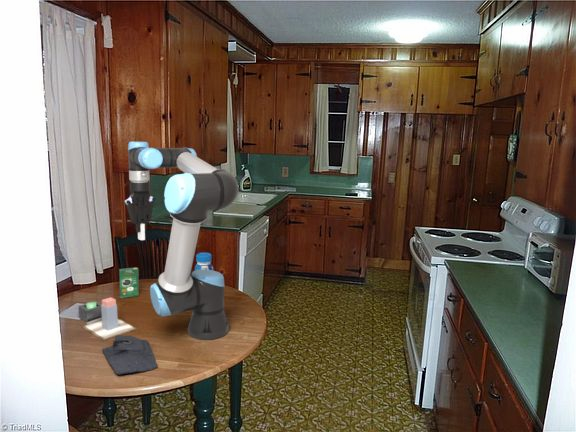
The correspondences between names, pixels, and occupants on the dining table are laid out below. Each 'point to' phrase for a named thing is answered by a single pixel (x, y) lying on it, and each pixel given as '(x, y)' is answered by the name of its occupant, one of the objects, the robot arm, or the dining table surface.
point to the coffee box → (128, 282)
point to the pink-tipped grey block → (109, 314)
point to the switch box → (90, 312)
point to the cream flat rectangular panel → (102, 333)
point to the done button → (91, 304)
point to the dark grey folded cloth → (130, 355)
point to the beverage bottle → (203, 261)
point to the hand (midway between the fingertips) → (141, 239)
